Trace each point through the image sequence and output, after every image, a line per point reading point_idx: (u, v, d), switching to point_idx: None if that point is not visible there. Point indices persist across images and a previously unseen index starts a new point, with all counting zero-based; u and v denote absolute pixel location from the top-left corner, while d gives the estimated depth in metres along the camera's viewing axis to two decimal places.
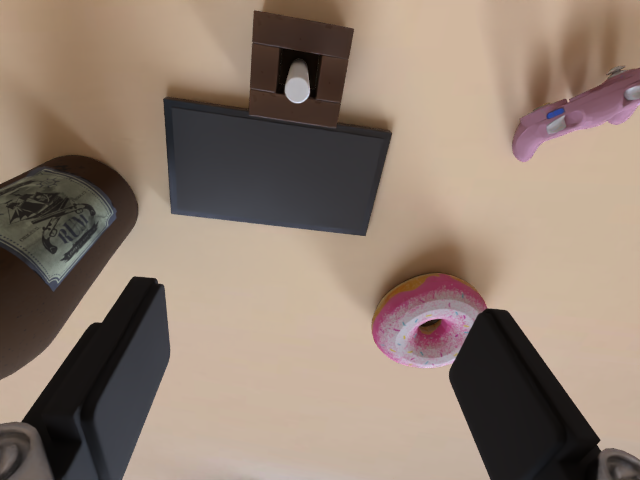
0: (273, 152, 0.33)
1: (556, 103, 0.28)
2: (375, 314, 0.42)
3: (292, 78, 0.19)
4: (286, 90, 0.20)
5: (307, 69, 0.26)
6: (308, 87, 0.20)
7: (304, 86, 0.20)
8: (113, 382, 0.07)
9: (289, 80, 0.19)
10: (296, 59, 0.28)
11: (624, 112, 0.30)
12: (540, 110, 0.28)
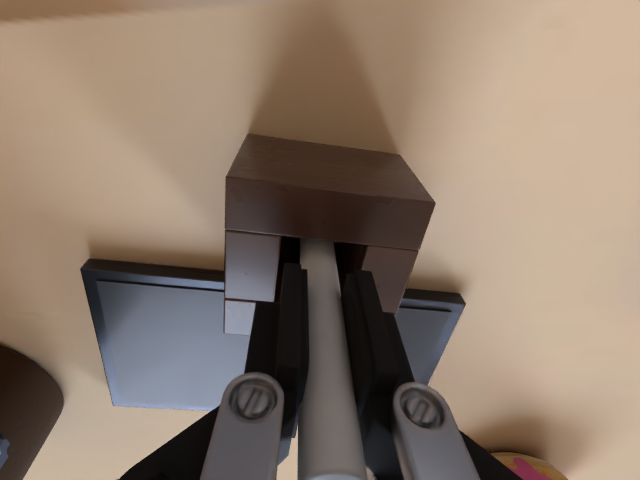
0: None
1: None
2: None
3: (320, 474, 0.07)
4: None
5: (335, 257, 0.14)
6: None
7: None
8: (307, 345, 0.08)
9: (311, 478, 0.07)
10: None
11: None
12: None
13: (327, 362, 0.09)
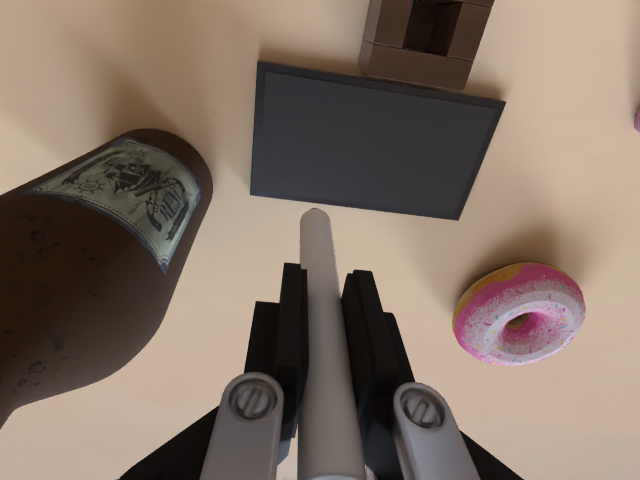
0: (371, 124, 0.29)
1: None
2: (459, 307, 0.38)
3: (320, 475, 0.07)
4: None
5: (335, 258, 0.14)
6: None
7: None
8: (307, 345, 0.08)
9: (311, 479, 0.07)
10: (311, 214, 0.16)
11: None
12: None
13: (327, 363, 0.09)
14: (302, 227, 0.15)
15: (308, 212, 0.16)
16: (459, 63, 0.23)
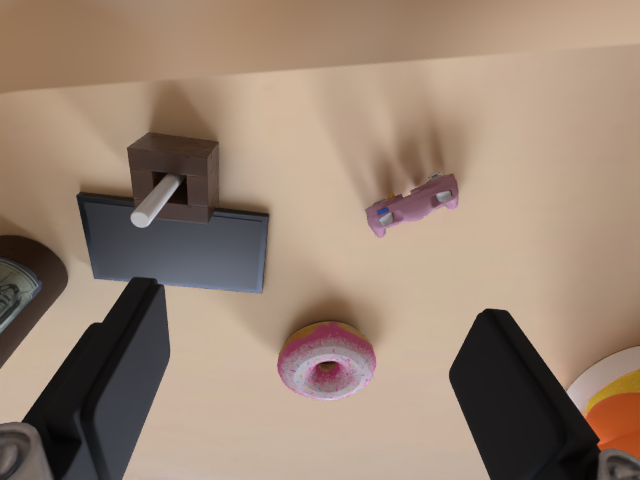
0: (172, 232, 0.40)
1: (384, 203, 0.35)
2: (279, 355, 0.49)
3: (134, 212, 0.26)
4: (131, 220, 0.27)
5: (178, 178, 0.33)
6: (148, 218, 0.26)
7: (144, 217, 0.26)
8: (113, 383, 0.07)
9: (132, 214, 0.26)
10: None
11: (449, 204, 0.37)
12: (373, 207, 0.35)
13: (150, 197, 0.28)
14: None
15: None
16: (198, 208, 0.34)
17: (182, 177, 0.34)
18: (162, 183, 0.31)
